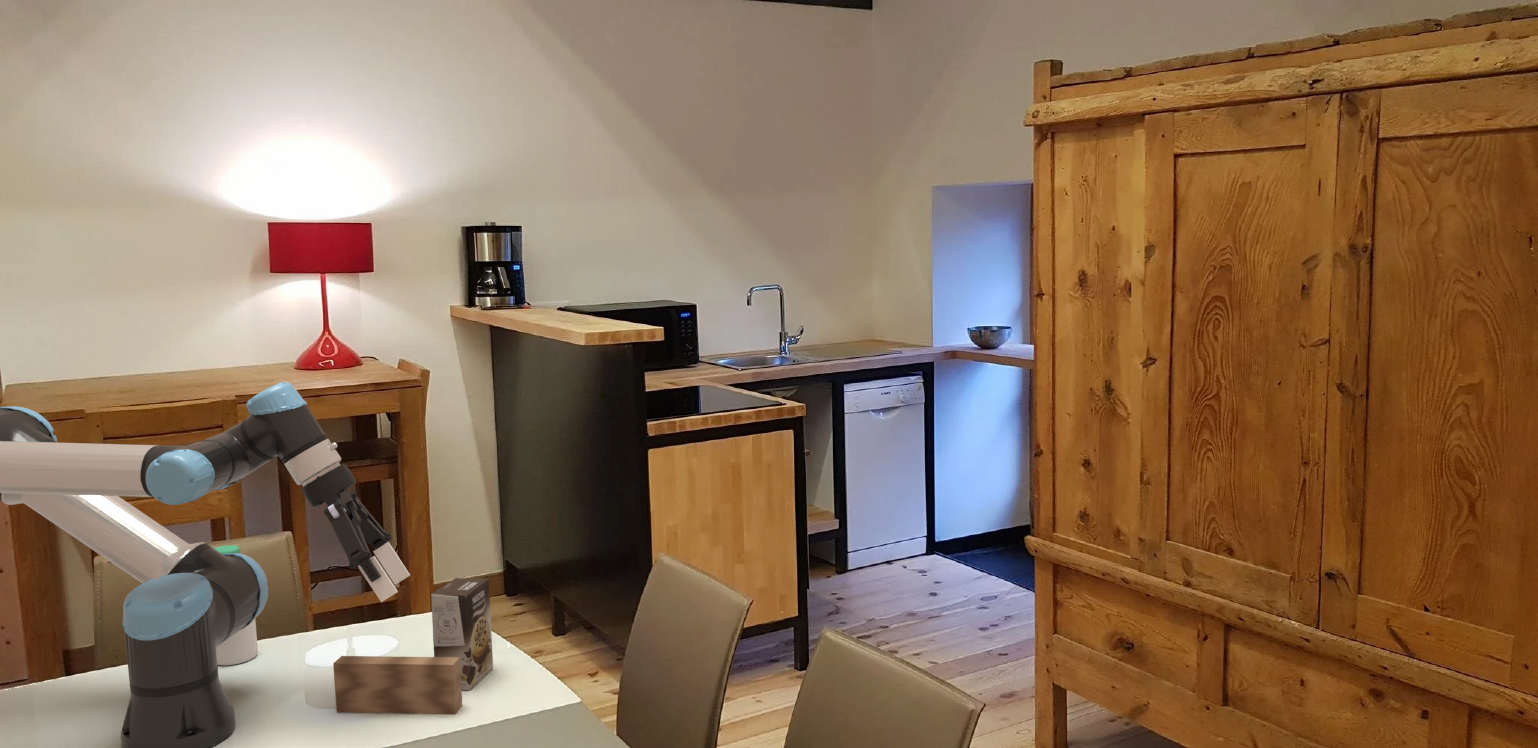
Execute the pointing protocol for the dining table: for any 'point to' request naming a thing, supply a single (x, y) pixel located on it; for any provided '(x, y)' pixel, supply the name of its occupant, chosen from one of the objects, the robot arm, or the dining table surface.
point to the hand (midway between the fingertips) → (396, 588)
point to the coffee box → (464, 627)
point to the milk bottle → (237, 634)
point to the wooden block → (398, 684)
